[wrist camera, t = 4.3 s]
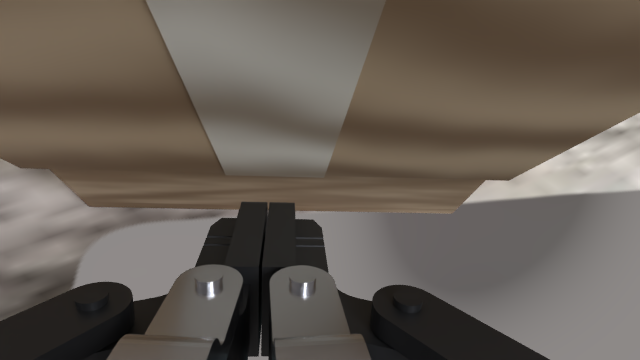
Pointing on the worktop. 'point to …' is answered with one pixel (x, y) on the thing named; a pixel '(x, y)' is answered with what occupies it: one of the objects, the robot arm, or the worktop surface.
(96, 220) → the worktop surface
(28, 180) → the worktop surface
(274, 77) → the carton lid
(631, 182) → the worktop surface
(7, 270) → the worktop surface
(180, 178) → the carton
